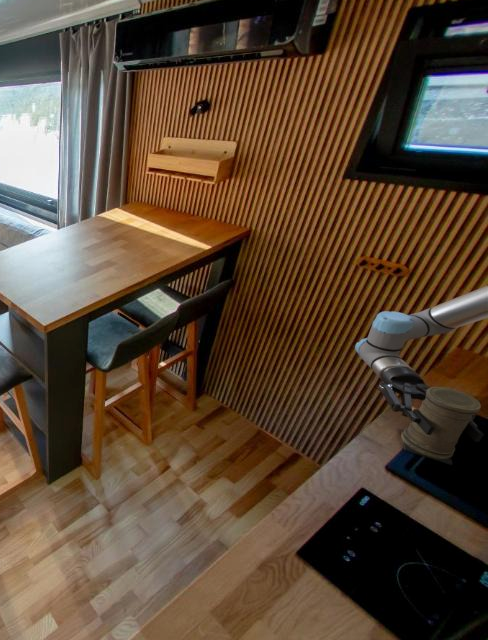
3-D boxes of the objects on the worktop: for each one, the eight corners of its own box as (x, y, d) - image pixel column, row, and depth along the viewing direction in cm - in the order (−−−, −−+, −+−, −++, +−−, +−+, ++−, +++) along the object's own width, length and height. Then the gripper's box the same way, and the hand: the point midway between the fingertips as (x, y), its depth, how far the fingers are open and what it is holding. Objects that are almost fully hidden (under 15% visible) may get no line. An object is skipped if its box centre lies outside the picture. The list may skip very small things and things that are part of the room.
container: (442, 465, 94) (474, 416, 86) (393, 440, 102) (418, 393, 94) (459, 450, 97) (491, 401, 89) (409, 427, 104) (435, 380, 97)
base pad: (445, 445, 99) (446, 442, 99) (451, 466, 95) (452, 463, 94) (400, 432, 105) (401, 429, 104) (403, 451, 100) (405, 448, 99)
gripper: (441, 389, 107) (509, 453, 88) (348, 380, 115) (392, 436, 97) (452, 370, 104) (525, 432, 85) (355, 361, 112) (402, 416, 94)
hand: (454, 434), depth 91 cm, fingers closed on container, 8 cm apart
